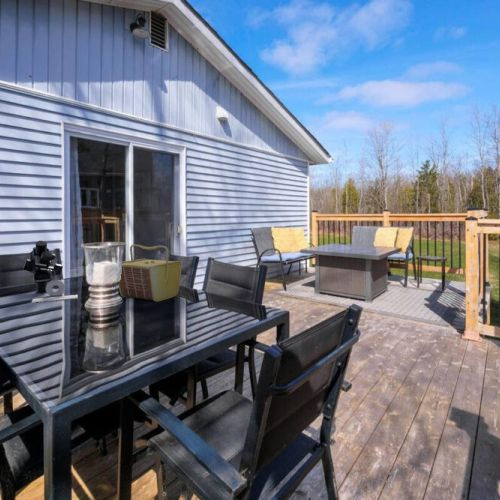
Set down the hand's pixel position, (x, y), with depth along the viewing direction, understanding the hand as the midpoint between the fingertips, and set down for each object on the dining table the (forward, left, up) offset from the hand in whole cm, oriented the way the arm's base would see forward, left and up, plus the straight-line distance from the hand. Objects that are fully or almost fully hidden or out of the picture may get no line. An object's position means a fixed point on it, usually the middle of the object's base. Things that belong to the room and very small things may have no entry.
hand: (45, 275), depth 188 cm
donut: (-5, +4, -14) cm, 16 cm away
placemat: (+2, +4, -14) cm, 15 cm away
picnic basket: (+21, +52, -14) cm, 58 cm away
